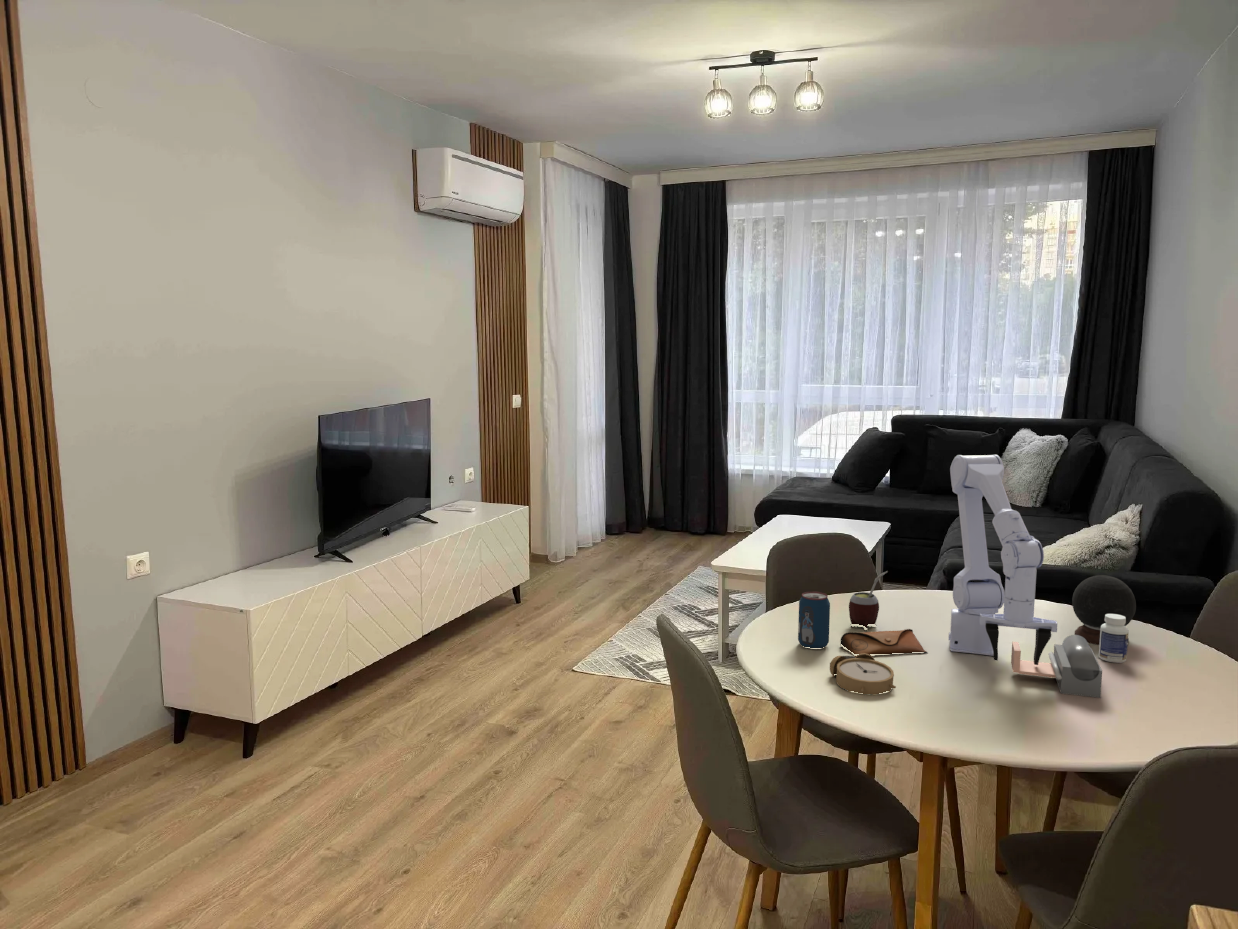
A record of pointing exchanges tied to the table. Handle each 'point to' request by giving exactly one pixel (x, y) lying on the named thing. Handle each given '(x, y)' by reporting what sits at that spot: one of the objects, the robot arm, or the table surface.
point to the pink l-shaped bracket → (1029, 664)
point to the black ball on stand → (1101, 604)
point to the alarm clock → (862, 674)
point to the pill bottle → (1113, 639)
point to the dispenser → (1076, 667)
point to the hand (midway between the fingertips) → (1015, 661)
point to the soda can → (814, 620)
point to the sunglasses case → (882, 642)
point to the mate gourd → (864, 606)
